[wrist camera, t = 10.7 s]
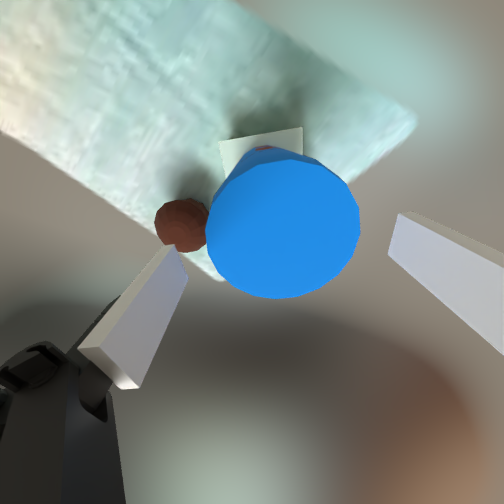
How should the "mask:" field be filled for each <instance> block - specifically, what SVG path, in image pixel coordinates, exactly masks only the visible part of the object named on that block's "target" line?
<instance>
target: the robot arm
mask: <svg viewBox="0 0 504 504" xmlns="http://www.w3.org/2000/svg"><path fill="white" fill-rule="evenodd" d="M388 255H389V256H390V257H391V258H392V259H393V260H394V261H396V262H397V263H398V264H399V265H400V266H401V267H402V268H404V269H405V270H406V271H407V272H408V273H409V274H410V275H412V276H413V277H414V278H415V279H416V280H417V281H419V282H420V283H421V284H422V285H423V286H424V287H425V288H427V289H428V290H429V291H430V292H431V293H432V294H434V295H435V296H436V297H437V298H438V299H439V300H440V301H442V302H443V303H444V304H445V305H446V306H447V307H448V308H450V309H451V310H452V311H453V312H454V313H455V314H457V315H458V316H459V317H460V318H461V319H462V320H464V321H465V322H466V323H467V324H468V325H469V326H470V327H472V328H473V329H474V330H475V331H476V332H477V333H478V334H480V335H481V336H482V337H483V338H484V339H485V340H487V341H488V342H489V343H490V344H491V345H492V346H493V347H494V348H496V349H497V350H498V351H499V352H500V353H502V354H503V355H504V253H502V252H500V251H497V250H495V249H493V248H491V247H489V246H487V245H485V244H483V243H480V242H478V241H476V240H474V239H472V238H470V237H467V236H465V235H463V234H461V233H459V232H457V231H454V230H452V229H450V228H448V227H446V226H444V225H441V224H439V223H437V222H435V221H433V220H430V219H428V218H426V217H424V216H422V215H420V214H418V213H415V212H405V213H398V217H397V221H396V224H395V228H394V232H393V236H392V240H391V243H390V247H389V251H388ZM188 279H189V278H188V276H187V273H186V271H185V268H184V266H183V264H182V261H181V259H180V257H179V254H178V252H177V249H176V247H175V245H174V244H172V245H164V246H162V247H161V248H160V249H159V251H158V252H157V253H156V254H155V255H154V257H153V258H152V259H151V260H150V261H149V263H148V264H147V265H146V266H145V267H144V269H143V270H142V271H141V272H140V273H139V275H138V276H137V277H136V278H135V279H134V281H133V282H132V283H131V284H130V285H129V287H128V288H127V289H126V290H125V291H124V293H123V294H122V295H120V296H119V297H118V298H116V299H115V300H113V301H112V302H111V303H110V304H109V305H108V306H107V307H106V308H105V309H104V310H103V312H102V313H101V315H99V317H97V319H96V320H95V322H94V323H92V324H91V325H90V327H89V328H88V329H87V330H86V331H85V333H84V334H83V335H82V336H81V337H80V338H79V340H78V341H77V342H76V343H75V344H74V345H73V346H72V348H71V349H70V350H69V351H68V352H67V353H66V354H64V353H63V352H62V351H61V350H60V349H58V348H57V347H56V346H55V345H54V344H53V343H51V342H48V341H43V342H39V343H36V344H33V345H31V346H29V347H27V348H25V349H24V350H22V351H20V352H18V353H17V354H15V355H14V356H13V357H11V358H10V359H9V360H7V361H6V362H5V363H4V364H3V365H2V366H1V367H0V384H1V385H2V386H4V387H6V388H5V389H1V388H0V504H126V500H125V493H124V485H123V477H122V470H121V462H120V455H119V447H118V439H117V432H116V424H115V416H114V409H113V401H112V396H111V394H110V392H109V391H108V390H109V388H110V386H111V385H112V383H113V382H114V383H115V384H116V385H117V386H118V387H119V388H120V389H132V388H140V385H141V383H142V381H143V379H144V377H145V374H146V372H147V370H148V368H149V366H150V363H151V361H152V359H153V357H154V354H155V352H156V350H157V348H158V346H159V343H160V341H161V339H162V337H163V335H164V332H165V330H166V328H167V326H168V323H169V321H170V319H171V317H172V314H173V312H174V310H175V308H176V306H177V304H178V301H179V299H180V297H181V295H182V292H183V290H184V288H185V286H186V284H187V281H188Z"/></svg>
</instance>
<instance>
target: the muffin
mask: <svg viewBox="0 0 504 504" xmlns="http://www.w3.org/2000/svg"><path fill="white" fill-rule="evenodd" d="M208 216H209V212H208V211H207V210H206V208H205V207H204V205H203V203H200V202H197V201H195V200H193V199H192V198H190V199H187V200H175V201H171V202H168V203H165V204H164V205H163V206H162V207H161V208H160V209H159V210H158V211H157V213H156V217H155V221H154V224H155V228H156V231H157V235H158V237H159V238H160V239H161V241H162V242H163V243H164V244H165V245H172V244H174V245H175V247H176V249H177V252H183V253H188V252H192V251H197V250H199V249H200V248H201V247H202V246H204V245H205V244H206V234H205V228H206V224H207V220H208Z"/></svg>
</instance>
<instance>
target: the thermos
mask: <svg viewBox="0 0 504 504" xmlns="http://www.w3.org/2000/svg"><path fill="white" fill-rule="evenodd" d="M205 234H206V242H207V251H208V255H209V256H210V258H211V260H212V262H213V264H214V266H215V268H216V269H217V271H218V273H219V274H220V275H221V276H223V277H224V278H225V279H226V280H227V281H228V282H229V283H230V284H231V285H233V286H234V287H235V288H238V289H240V290H242V291H244V292H247V293H249V294H251V295H253V296H258V297H265V298H272V299H280V298H290V297H298V296H301V295H303V294H306V293H309V292H311V291H314V290H316V289H319V288H320V287H322V286H323V285H325V284H326V283H327V282H329V281H330V280H331V279H333V278H334V277H336V276H337V275H338V274H339V273H340V271H341V270H342V269H343V268H344V266H345V265H346V264H347V262H348V261H349V260H350V259H351V257H352V255H353V253H354V250H355V247H356V244H357V241H358V238H359V236H360V219H359V207H358V205H357V203H356V201H355V199H354V198H353V196H352V194H351V192H350V190H349V188H348V186H347V184H346V183H345V182H344V181H343V180H342V179H341V178H340V177H338V176H337V175H336V174H335V173H333V172H332V171H331V170H329V169H328V168H327V167H325V166H324V165H322V164H321V163H320V162H318V161H317V160H316V159H313V158H310V157H307V156H304V155H301V154H298V153H295V152H292V151H289V150H285V149H282V148H279V147H275V146H270V145H264V146H259V147H255V148H253V149H251V150H250V151H248V152H247V153H245V154H244V155H243V156H242V158H241V159H240V160H239V162H238V163H237V164H236V166H235V167H234V169H233V170H232V171H231V173H230V174H229V176H228V177H227V178H226V180H225V181H224V183H223V184H222V185H221V187H220V188H219V190H218V191H217V192H216V194H215V195H214V198H213V201H212V205H211V209H210V212H209V216H208V220H207V224H206V228H205Z"/></svg>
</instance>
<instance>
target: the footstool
mask: <svg viewBox="0 0 504 504" xmlns="http://www.w3.org/2000/svg"><path fill="white" fill-rule="evenodd" d="M218 144H219V149H220V153H221V158H222V163H223V167H224V172H225V177H226V178H227V177H228V176H229V174H230V173H231V171H232V170H233V169H234V167H235V166H236V164H237V163H238V162H239V160H240V159H241V158H242V156H243V155H244V154H245V153H247V152H248V151H250V150H251V149H253V148H255V147H259V146H264V145H270V146H275V147H279V148H282V149H285V150H289V151H292V152H295V153H298V154H301V155H303V127H297V128H292V129H286V130H281V131H275V132H270V133H264V134H258V135H253V136H247V137H242V138H236V139H231V140H225V141H220V142H218Z"/></svg>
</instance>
